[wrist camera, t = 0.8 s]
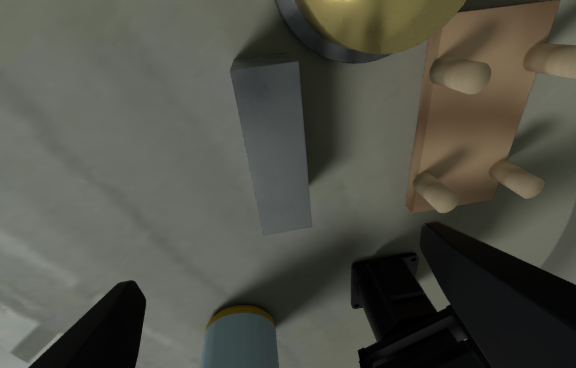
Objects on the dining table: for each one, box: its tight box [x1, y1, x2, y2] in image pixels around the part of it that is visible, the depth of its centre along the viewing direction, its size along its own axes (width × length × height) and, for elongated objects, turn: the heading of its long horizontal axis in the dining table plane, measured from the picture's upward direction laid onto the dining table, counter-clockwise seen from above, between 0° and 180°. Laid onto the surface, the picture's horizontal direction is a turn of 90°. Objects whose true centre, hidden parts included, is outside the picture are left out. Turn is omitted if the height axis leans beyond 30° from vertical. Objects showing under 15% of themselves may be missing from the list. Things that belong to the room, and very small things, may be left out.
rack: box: [406, 0, 576, 213], centre depth 18 cm, size 14×8×4 cm, turn 6°
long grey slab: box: [230, 53, 312, 235], centre depth 17 cm, size 10×3×4 cm, turn 6°
